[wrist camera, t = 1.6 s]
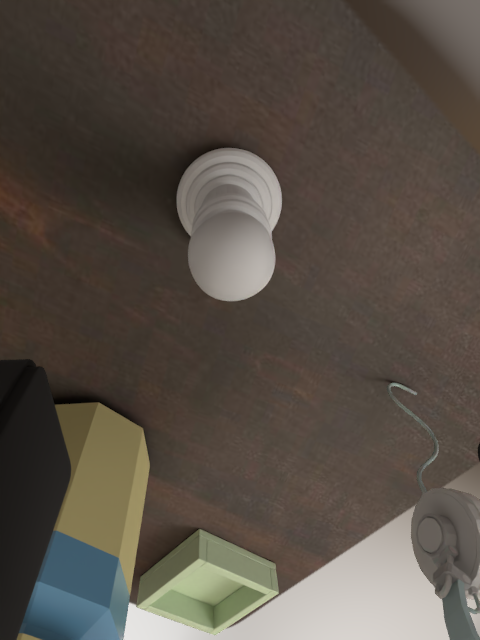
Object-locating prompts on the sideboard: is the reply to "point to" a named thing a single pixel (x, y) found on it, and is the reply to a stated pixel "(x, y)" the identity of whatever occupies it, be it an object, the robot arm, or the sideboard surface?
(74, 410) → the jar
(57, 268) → the sideboard surface
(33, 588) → the robot arm
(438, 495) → the headphones
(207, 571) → the socket pad
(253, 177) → the chess piece
